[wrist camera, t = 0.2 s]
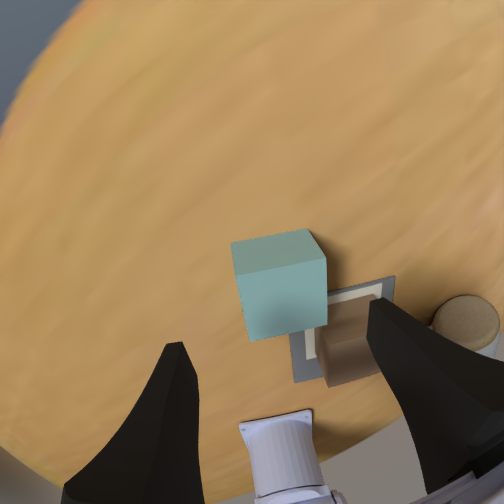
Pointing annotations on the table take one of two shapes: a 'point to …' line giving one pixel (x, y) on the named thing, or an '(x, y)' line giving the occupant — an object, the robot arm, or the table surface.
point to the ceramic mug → (469, 324)
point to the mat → (304, 340)
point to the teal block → (281, 283)
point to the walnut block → (345, 342)
